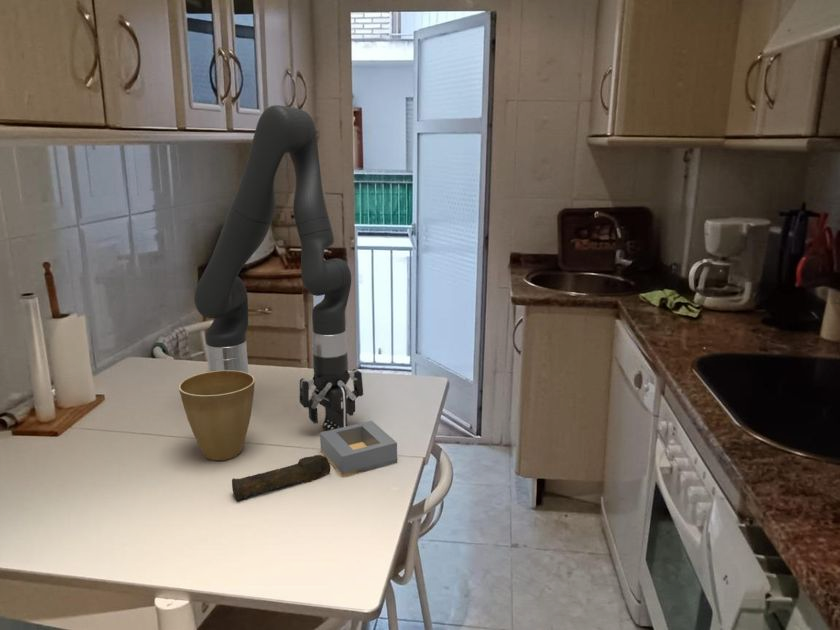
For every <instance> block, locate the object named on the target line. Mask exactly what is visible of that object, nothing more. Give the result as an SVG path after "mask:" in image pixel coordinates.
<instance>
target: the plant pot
mask: <svg viewBox="0 0 840 630" xmlns="http://www.w3.org/2000/svg"><path fill="white" fill-rule="evenodd" d="M255 382H256V379H255V376H253V375H252V374H250V373H246V372H242V371H233V370H222V371H212V372H207V371H206V372H201V373H198V374H194V375H192V376H189V377H187V378H186V379H184V380H183V381H181V382H180V384H179V385H178V391H179V394H180V399H181V402H182V407H183V409H184V412H185V415H186V418H187V421H188V423H189V427H190V428H191V431H192V433H193V435H194V438H195V440H196V442H197V444H198V446H199V448H200V450H201V452H202V454H203V455H204V457H205V458H206V459H208V460H210V459H211V461H215V460H221V461H226V460H231V459H234V458H235V457H237V456H239V455H240V453H242V449H243V446H244V443H245V440H246V437H247V433H248V429H249V425H250V419H251V416H252V410H253V403H254V395H255V394H254V392H255V384H256V383H255ZM238 454H239V455H238ZM233 457H234V458H233Z"/></svg>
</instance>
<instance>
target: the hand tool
mask: <svg viewBox="0 0 840 630" xmlns="http://www.w3.org/2000/svg"><path fill="white" fill-rule="evenodd" d="M330 473H331V463H330V462H329V461H328V460H327V458H326V457H325V456H324V455H323V454H315V455H313V456H305V457H302V458H300V459H298V462H297V463H295V464H294V463H293V464H291V465H288V466H285V467H281V468H276V469H273V470H269V471H265V472H261V473H257V474H252V475H248V476H245V477H240V478H232V479H231V489H232V493H233V496H234V498H235V500H236V501H237V502H238V501H240V500H242V499H248V498H249V496H253V495H256V494H257V495H258V494H260V493H263V492H266V491H271V490H275V489H278V488H282V487H285V486H288V485H292V484H296V483H304V484H308V483H310V482H313V480H314V481H317V480H319V479H320V478H322V477H325V476H326V475H328V474H330ZM307 482H308V483H307Z"/></svg>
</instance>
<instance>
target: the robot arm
mask: <svg viewBox="0 0 840 630" xmlns="http://www.w3.org/2000/svg"><path fill="white" fill-rule="evenodd" d="M316 129H317V128H316V127H315V121H314V120H313V118H312V116H311V115H310V114H309V113H308V112H307V111H305V110H303V109H301V108H295V107H290V106H285V105H279V104H275V105H271V106H270V105H269V106H268V107H267V108H266V109H264V111H263V112H262V113H261V114H260V116H259V118H258V122H257V124H256V128H255V130H254V134H253V139H252V141H251V142H252V143H251V147H250V151H249V153H248V158H247V162H246V164H245V167H244V171H243V173H242V175H241V179H240V181H239V184H238V187H237V191H236V193H235V195H234V198H233V200H232V202H231V205H230V208H229V209H228V212H227V215H226V218H225V220H224V221H225V222H224V224H223V226H222V227H223V228H222V230H221V231H220V235H219V237H218V240H217V242H216V245H215V248H214V249H213V253H212V256H211V258H210V259H209V262H208V264H207V266H206V268H205V269H204V271H203V273H202V275H201V278H200V279H199V281H198V283H197V285H196V287H195V291H194V296H193V297H194V306H195V308H196V311H197V312H198V313H199V314H200V315H201V316H202V317H204V318H206V319H213V321H212V323H211V324H210V326H209V327H208V328H207V330H206V331H205V334H204V337H205V339H204V340H205V347H206V358H207V367H208V368H207V369H208V370H206V372H212V371H222V370H233V371H242V372H246V373H249V363H248V362H249V361H248V350H247V348H248V347H247V332H248V328H249V301H248V300H249V297H248V291H247V288H246V284H245V283H244V281H243V280H242V279H241V278H240V277H239V274H240V272H241V270H242V269H243V268H244V267H245V265H246V263H247V262H248V261H249V259H250V258H252V256H253V255H254V254H255V253H256V251H257V250H258V249H259V248H260V246H261V245H262V243H263V242H264V240H265V239H266V236H267V235H268V232H269V230H270V227H271V226H272V222H273V220H274V218H275V213H276V207H277V206H276V193H275V178H276V175H277V171H278V168H279V166H280V164H281V162H282V160H283V158H284V155H285V154H289V156H290V160H291V162H292V164H293V169H294V173H295V190H294V198H293V218H294V223H295V226H296V230H297V233H298V237H299V241H300V246H301V247H300V249H301V250H300V256H301V259H300V263H301V264H300V267H301V268H300V273H301V281H302V283H303V286H304V288H305V289H306V291H308V293H309V294H311V295H312V296H314V297H315V296H316V297H319V296H323V299H322V300H321V301H320V302H318V303H317V304H316V305H314V307H313V308H312V313H311V318H312V319H311V321H312V343H311V344H312V347H311V350H312V361H313V377H312V378H311V379H305V378H300V380H299V403H300V405H301V406H303V408H305V409H308V418H309V420H310V421H311V422H312V423H313V424H319V423H318V422H319V417H318V415H319V414H318V413H319V412H318V408H317V406H318V405H320V404H319V402H320V401H322V399H323V398H324V396H325V395H326V394H327V391H328V390H329V389H330V388H331V387H332V386H337V385H338V386H339V387H340V386H344V387H345V389H346V394H347V416H349V417H351V416H354V413H355V412H356V400H357V398H358V397H362V396H363V395H364V388H363V387H364V385H363V377H362V375H363V373H362V372H361V371H360V370H358V369H357V368H353V369H352V371H349V370H348V369H349V363H348V362H349V361H348V360H349V359H348V356H349V355H348V339H347V332H346V309H347V304H348V300H349V297H350V292H351V287H352V273H351V269H350V267H349V265H348V264H347V262H346V261H345V260H344V259H342V258H337V257H336V258H334V257H333V258H330V259H325V257H324V255H325V250H326V249H328V248H330V247H331V246H333V244H334V243H335V242H334V241H335V238H334V237H335V236H334V233H333V228H332V225H331V221H330V218H329V214H328V210H327V206H326V201H325V196H324V191H323V183H322V173H321V168H320V159H319V158H320V157H319V148H318V147H319V146H318V138H317V137H318V136H317V130H316ZM249 374H250V373H249ZM349 380H352V383H353V391H352V390H351V389H350V388H349V387H348V386H347V384H348V382H349ZM313 385H314V387H315V388H314V389H313V391H312V392H311V396H310V395H309V394H310V390H311V389H312V386H313ZM319 392H320V393H319Z"/></svg>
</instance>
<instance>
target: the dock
mask: <svg viewBox="0 0 840 630" xmlns="http://www.w3.org/2000/svg"><path fill="white" fill-rule="evenodd" d="M319 439H320V441H319V442H320V443H319V444H320V454H321V455H322V456H324V457H326V458H327V460H328V462H329V463H330V465H331V466H333V468H334V469H335V470H336V471H337V472H338V473H339V474H340V476H341V477H342V478H346V477H349V476H353V475H356V474H360V473H363V472H368V471H371V470H375V469H379V468H382V467H383V468H384V467H386V466H390V465H393V464H397V463H398V442H397V441H396V440H394V438H392V437H391V436H390V435H389V434H388V433H387V432H386V431H384V430H383V429H382V428H381V427H379V425H377V424H376V423H375V422H374V421H373V420H367V421H364V422H360V423H356V424H350V425H347V426H346V427H342V428H338V429H333V430H329V431H327V430H325V431H321V432H320V433H319Z"/></svg>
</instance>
